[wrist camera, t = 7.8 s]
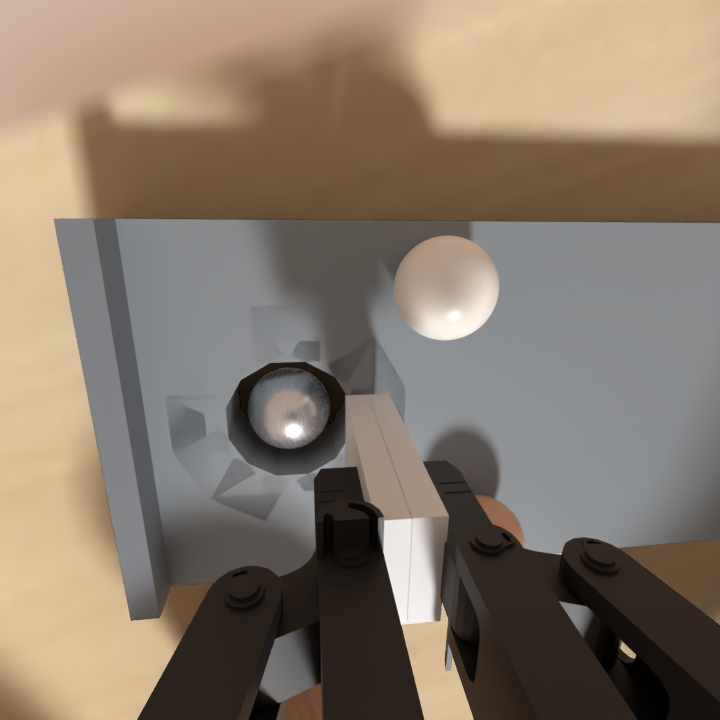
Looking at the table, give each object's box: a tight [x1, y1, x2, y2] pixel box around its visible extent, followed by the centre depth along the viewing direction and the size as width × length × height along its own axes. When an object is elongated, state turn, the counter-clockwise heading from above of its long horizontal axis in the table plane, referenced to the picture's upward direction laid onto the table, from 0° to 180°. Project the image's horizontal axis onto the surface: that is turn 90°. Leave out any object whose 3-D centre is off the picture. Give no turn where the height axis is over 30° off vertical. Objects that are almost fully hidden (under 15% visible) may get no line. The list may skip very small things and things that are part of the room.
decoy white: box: [394, 235, 499, 340], centre depth 14 cm, size 3×3×3 cm
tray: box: [54, 219, 720, 621], centre depth 18 cm, size 26×14×4 cm, turn 89°
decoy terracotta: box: [475, 495, 525, 548], centre depth 17 cm, size 3×3×3 cm
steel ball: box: [248, 367, 330, 449], centre depth 18 cm, size 3×3×3 cm
